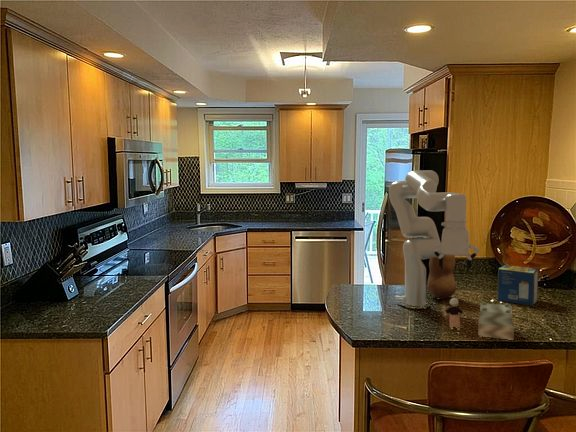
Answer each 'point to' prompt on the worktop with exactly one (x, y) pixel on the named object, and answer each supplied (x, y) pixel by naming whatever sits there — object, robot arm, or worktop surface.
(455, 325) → the grandmother figurine
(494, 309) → the grey studded block
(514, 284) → the protein box
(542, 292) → the worktop surface
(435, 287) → the butternut squash
